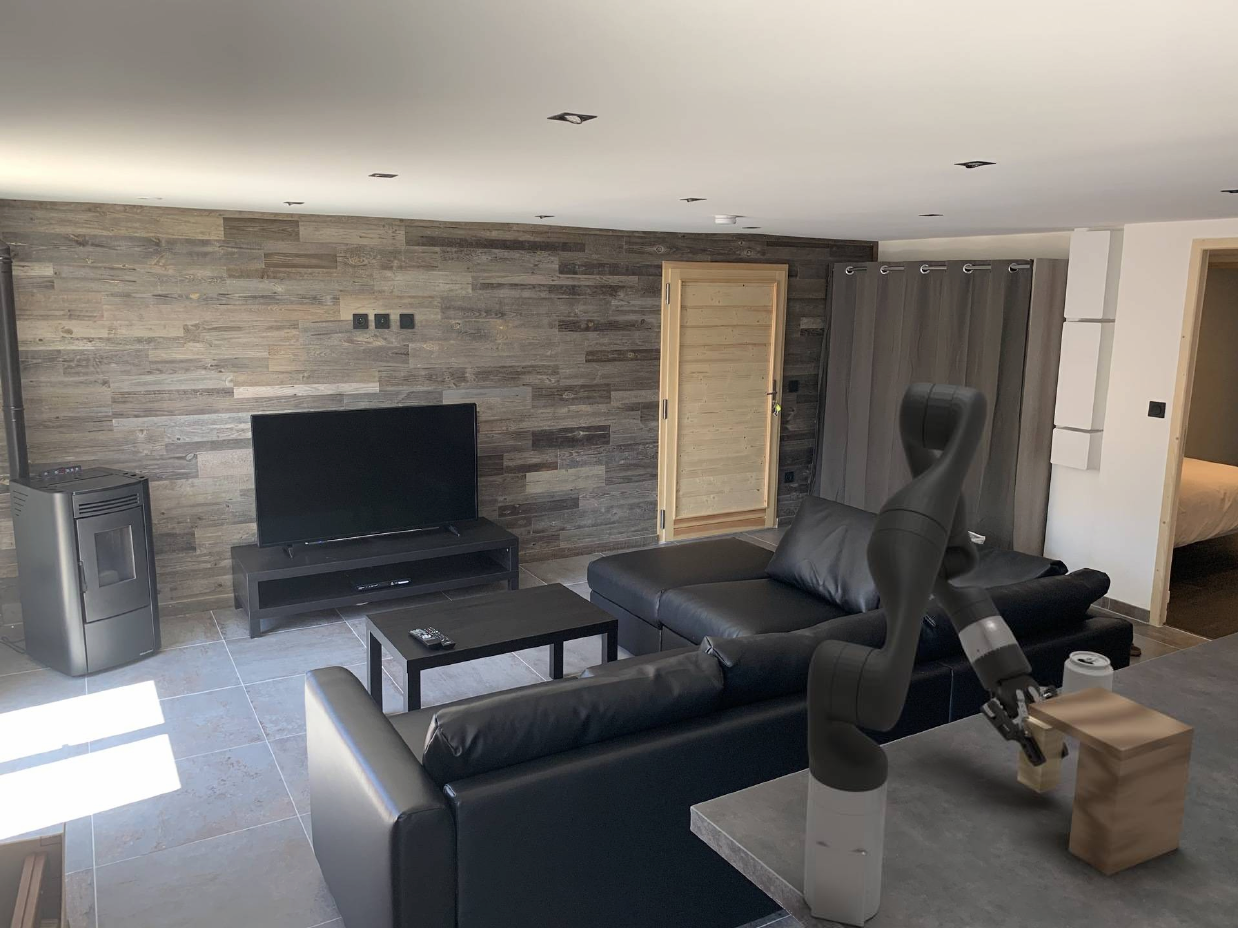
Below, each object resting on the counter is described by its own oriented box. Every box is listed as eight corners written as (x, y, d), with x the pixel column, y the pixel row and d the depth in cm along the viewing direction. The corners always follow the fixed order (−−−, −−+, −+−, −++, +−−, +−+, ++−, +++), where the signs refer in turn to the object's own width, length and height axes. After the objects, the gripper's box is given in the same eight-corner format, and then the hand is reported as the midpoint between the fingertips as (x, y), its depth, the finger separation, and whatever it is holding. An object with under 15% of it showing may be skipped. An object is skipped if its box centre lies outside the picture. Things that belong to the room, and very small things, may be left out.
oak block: (1017, 779, 144) (1023, 717, 142) (1036, 773, 145) (1042, 712, 143) (1039, 792, 140) (1045, 728, 138) (1058, 786, 142) (1065, 723, 140)
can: (1049, 717, 169) (1055, 652, 166) (1080, 709, 172) (1086, 645, 169) (1086, 736, 162) (1093, 668, 160) (1117, 727, 165) (1124, 661, 163)
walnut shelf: (1017, 818, 138) (1028, 704, 134) (1086, 795, 144) (1097, 685, 140) (1107, 875, 125) (1122, 750, 121) (1178, 847, 131) (1194, 727, 127)
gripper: (973, 649, 142) (1033, 763, 134) (1042, 634, 149) (1104, 742, 140) (944, 670, 148) (1000, 780, 140) (1012, 654, 154) (1069, 759, 146)
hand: (1051, 760), depth 140 cm, fingers closed on oak block, 4 cm apart
